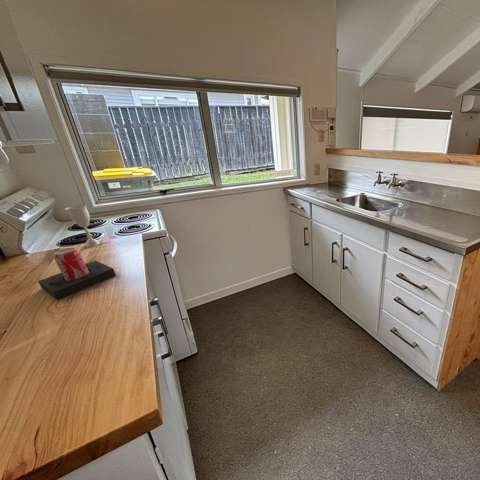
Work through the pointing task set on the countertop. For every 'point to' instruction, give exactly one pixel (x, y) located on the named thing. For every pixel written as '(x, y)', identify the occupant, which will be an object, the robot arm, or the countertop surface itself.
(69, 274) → the beverage can
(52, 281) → the dock pad
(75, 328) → the countertop surface
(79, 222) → the chalice
